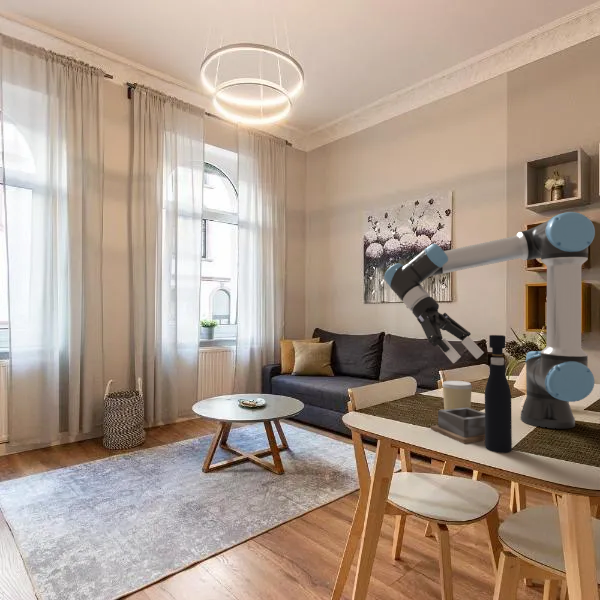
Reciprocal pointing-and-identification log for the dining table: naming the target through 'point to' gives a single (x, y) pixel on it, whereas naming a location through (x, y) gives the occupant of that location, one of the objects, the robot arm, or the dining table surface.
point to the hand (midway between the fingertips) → (469, 358)
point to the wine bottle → (498, 401)
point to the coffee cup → (456, 394)
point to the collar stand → (461, 424)
